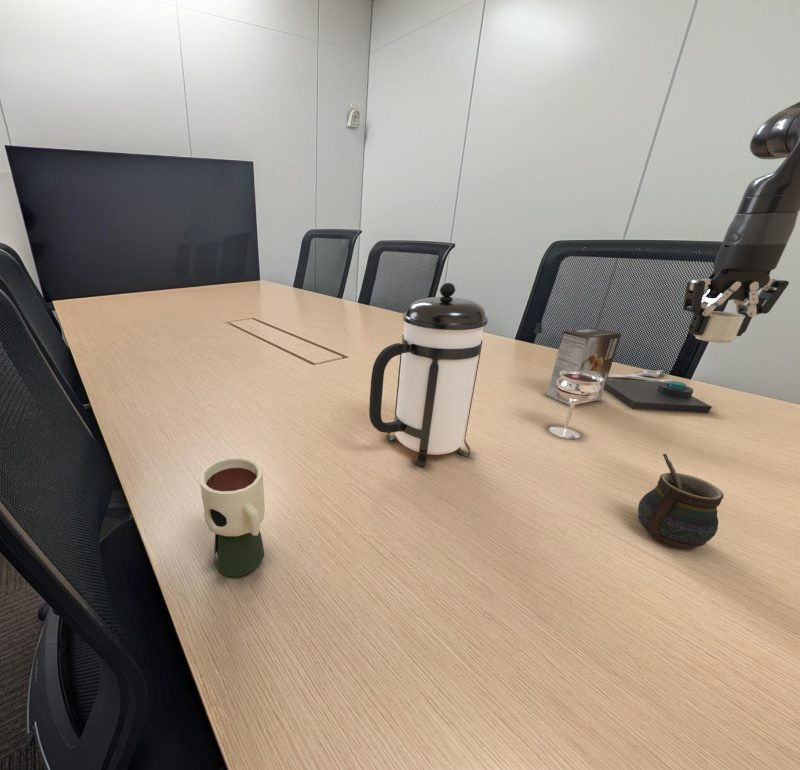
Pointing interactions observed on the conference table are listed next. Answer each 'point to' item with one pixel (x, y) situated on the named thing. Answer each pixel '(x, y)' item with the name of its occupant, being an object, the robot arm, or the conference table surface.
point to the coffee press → (432, 374)
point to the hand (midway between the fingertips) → (714, 334)
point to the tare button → (677, 385)
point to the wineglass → (576, 395)
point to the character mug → (234, 512)
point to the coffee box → (584, 356)
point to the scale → (655, 396)
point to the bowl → (722, 327)
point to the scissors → (645, 373)
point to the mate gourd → (681, 509)
